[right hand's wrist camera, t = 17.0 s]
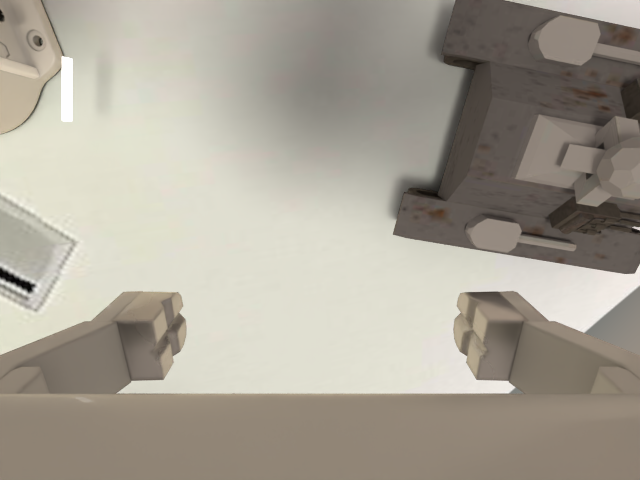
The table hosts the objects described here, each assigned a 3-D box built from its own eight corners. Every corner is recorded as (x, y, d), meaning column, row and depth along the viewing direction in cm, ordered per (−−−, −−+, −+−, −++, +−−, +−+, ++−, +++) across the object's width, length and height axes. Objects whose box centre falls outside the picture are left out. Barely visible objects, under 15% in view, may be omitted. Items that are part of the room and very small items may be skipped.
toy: (383, 219, 38) (421, 283, 24) (435, 10, 31) (533, -76, 17) (599, 255, 39) (754, 335, 25) (694, 63, 32) (981, 26, 18)
